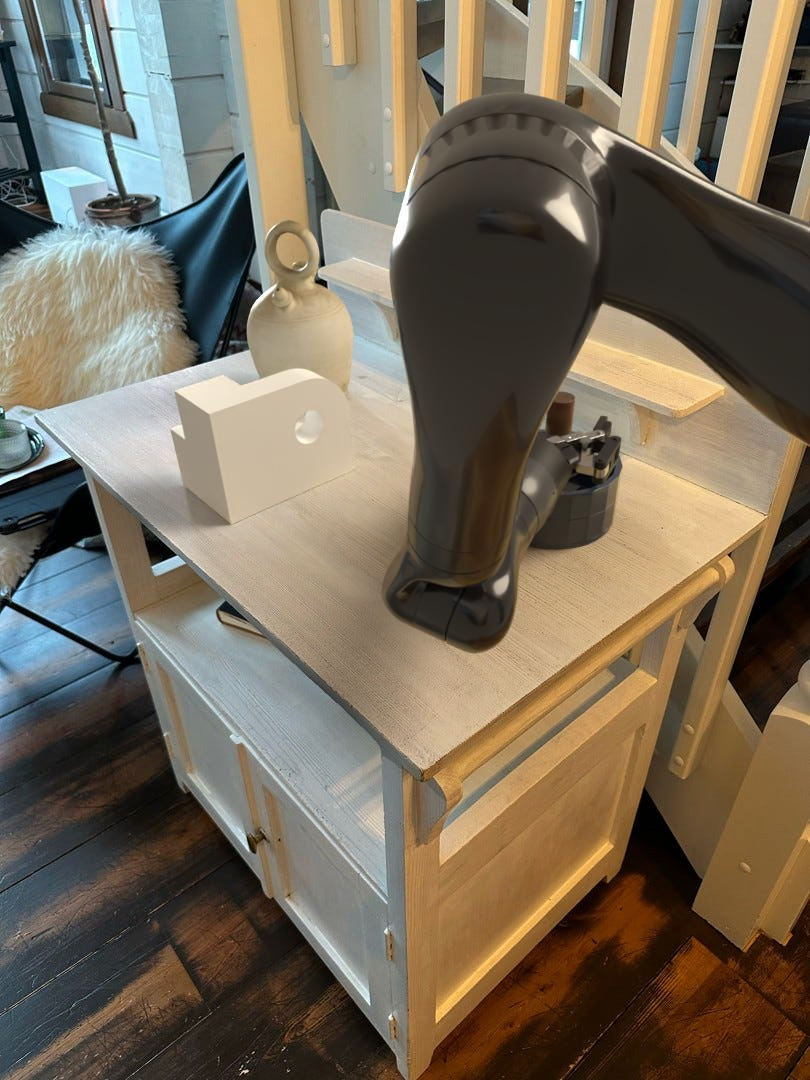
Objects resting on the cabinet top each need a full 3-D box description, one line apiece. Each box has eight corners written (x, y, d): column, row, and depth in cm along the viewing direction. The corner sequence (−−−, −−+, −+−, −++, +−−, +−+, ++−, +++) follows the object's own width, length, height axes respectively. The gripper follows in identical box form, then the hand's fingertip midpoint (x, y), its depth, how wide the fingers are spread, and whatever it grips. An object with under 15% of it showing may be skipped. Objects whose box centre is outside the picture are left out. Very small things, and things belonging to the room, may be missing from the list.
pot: (635, 505, 89) (645, 453, 84) (572, 565, 80) (579, 510, 76) (530, 467, 96) (534, 417, 92) (463, 517, 88) (464, 465, 83)
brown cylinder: (578, 507, 88) (592, 396, 79) (560, 523, 85) (572, 410, 77) (541, 493, 90) (551, 384, 82) (522, 508, 88) (530, 397, 80)
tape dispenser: (231, 524, 88) (209, 414, 80) (183, 484, 95) (158, 380, 87) (354, 469, 97) (345, 365, 89) (301, 437, 104) (289, 338, 96)
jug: (297, 366, 124) (277, 203, 110) (376, 384, 118) (367, 214, 103) (235, 403, 114) (205, 228, 99) (319, 425, 107) (299, 242, 92)
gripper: (597, 470, 66) (635, 395, 78) (446, 441, 71) (504, 375, 83) (587, 540, 71) (625, 458, 82) (447, 507, 76) (501, 435, 88)
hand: (564, 416), depth 83 cm, fingers open, 8 cm apart
